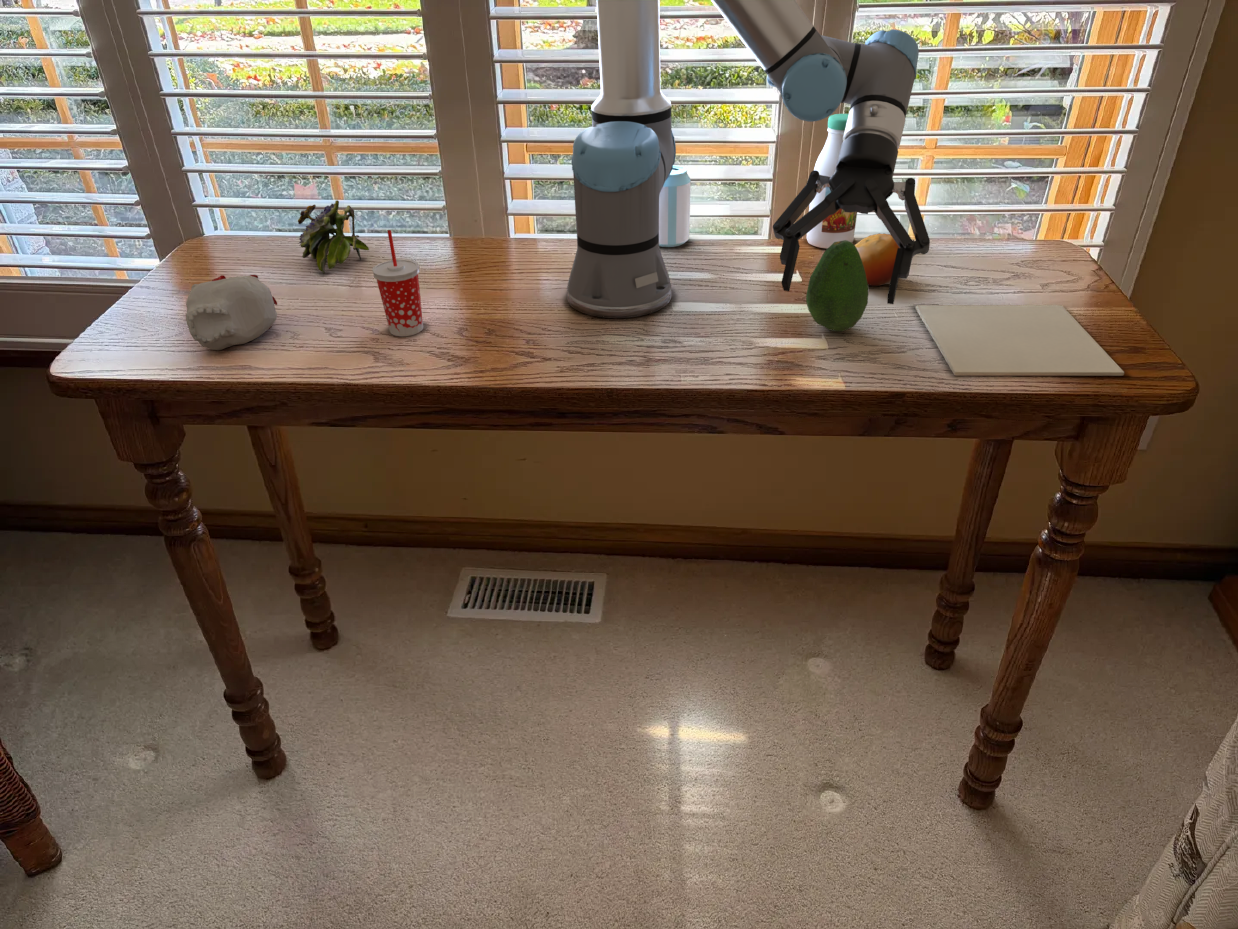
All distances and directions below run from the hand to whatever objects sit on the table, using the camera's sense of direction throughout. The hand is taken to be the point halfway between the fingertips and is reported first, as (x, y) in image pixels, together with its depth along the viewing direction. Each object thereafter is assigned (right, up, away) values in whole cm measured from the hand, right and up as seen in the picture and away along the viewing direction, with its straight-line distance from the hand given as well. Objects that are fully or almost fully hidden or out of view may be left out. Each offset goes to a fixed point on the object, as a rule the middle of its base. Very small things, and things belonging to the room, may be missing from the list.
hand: (836, 293), depth 113 cm
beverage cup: (-58, -4, +7) cm, 58 cm away
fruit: (+10, +5, +18) cm, 21 cm away
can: (-20, +15, +34) cm, 42 cm away
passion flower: (-75, +11, +30) cm, 81 cm away
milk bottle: (+7, +15, +32) cm, 36 cm away
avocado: (+1, -4, +4) cm, 6 cm away
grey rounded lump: (-81, -5, +7) cm, 81 cm away
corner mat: (+23, -6, 0) cm, 24 cm away
